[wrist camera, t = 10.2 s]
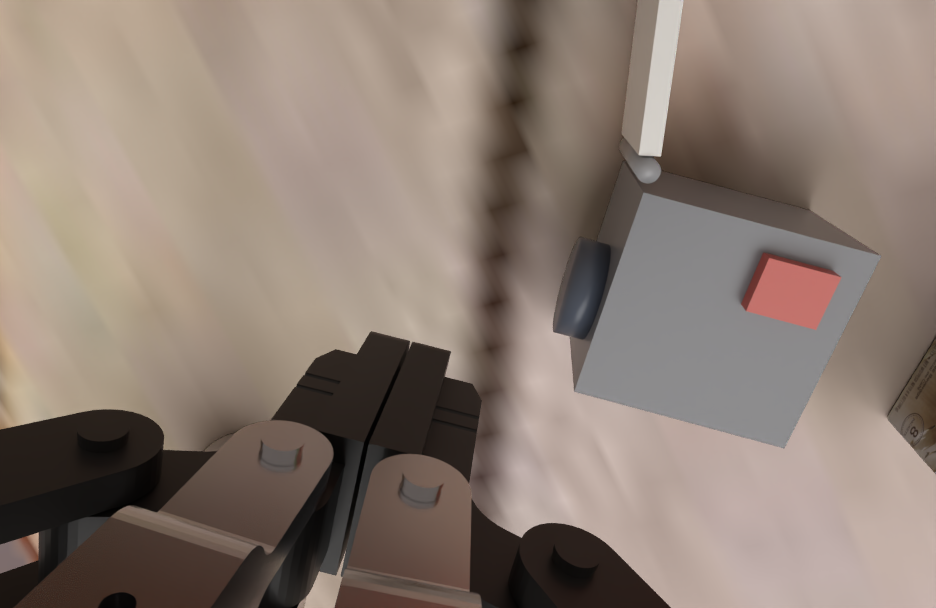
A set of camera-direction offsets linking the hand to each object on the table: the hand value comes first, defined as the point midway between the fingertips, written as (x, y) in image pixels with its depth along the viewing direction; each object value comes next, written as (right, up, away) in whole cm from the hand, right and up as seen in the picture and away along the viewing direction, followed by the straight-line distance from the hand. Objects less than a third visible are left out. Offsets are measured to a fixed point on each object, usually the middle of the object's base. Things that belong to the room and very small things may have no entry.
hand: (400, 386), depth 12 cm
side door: (+9, +15, +20) cm, 27 cm away
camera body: (+13, +3, +24) cm, 28 cm away
